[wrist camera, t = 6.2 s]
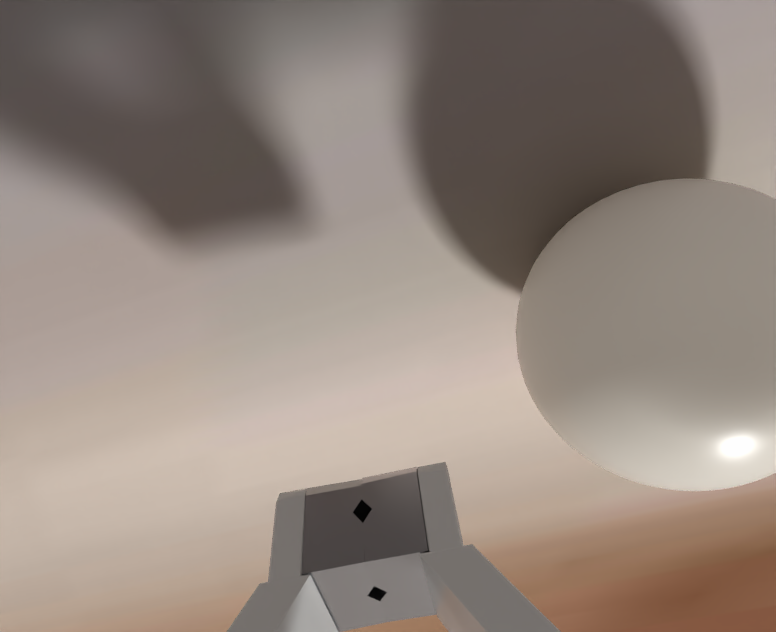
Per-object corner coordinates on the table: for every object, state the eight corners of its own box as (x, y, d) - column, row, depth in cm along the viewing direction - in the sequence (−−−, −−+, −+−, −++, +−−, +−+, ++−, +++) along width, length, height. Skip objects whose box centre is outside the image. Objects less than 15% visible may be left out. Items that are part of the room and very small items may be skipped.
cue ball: (557, 566, 11) (547, 371, 15) (930, 551, 9) (792, 331, 13) (468, 337, 8) (487, 180, 12) (981, 237, 6) (786, 93, 10)
